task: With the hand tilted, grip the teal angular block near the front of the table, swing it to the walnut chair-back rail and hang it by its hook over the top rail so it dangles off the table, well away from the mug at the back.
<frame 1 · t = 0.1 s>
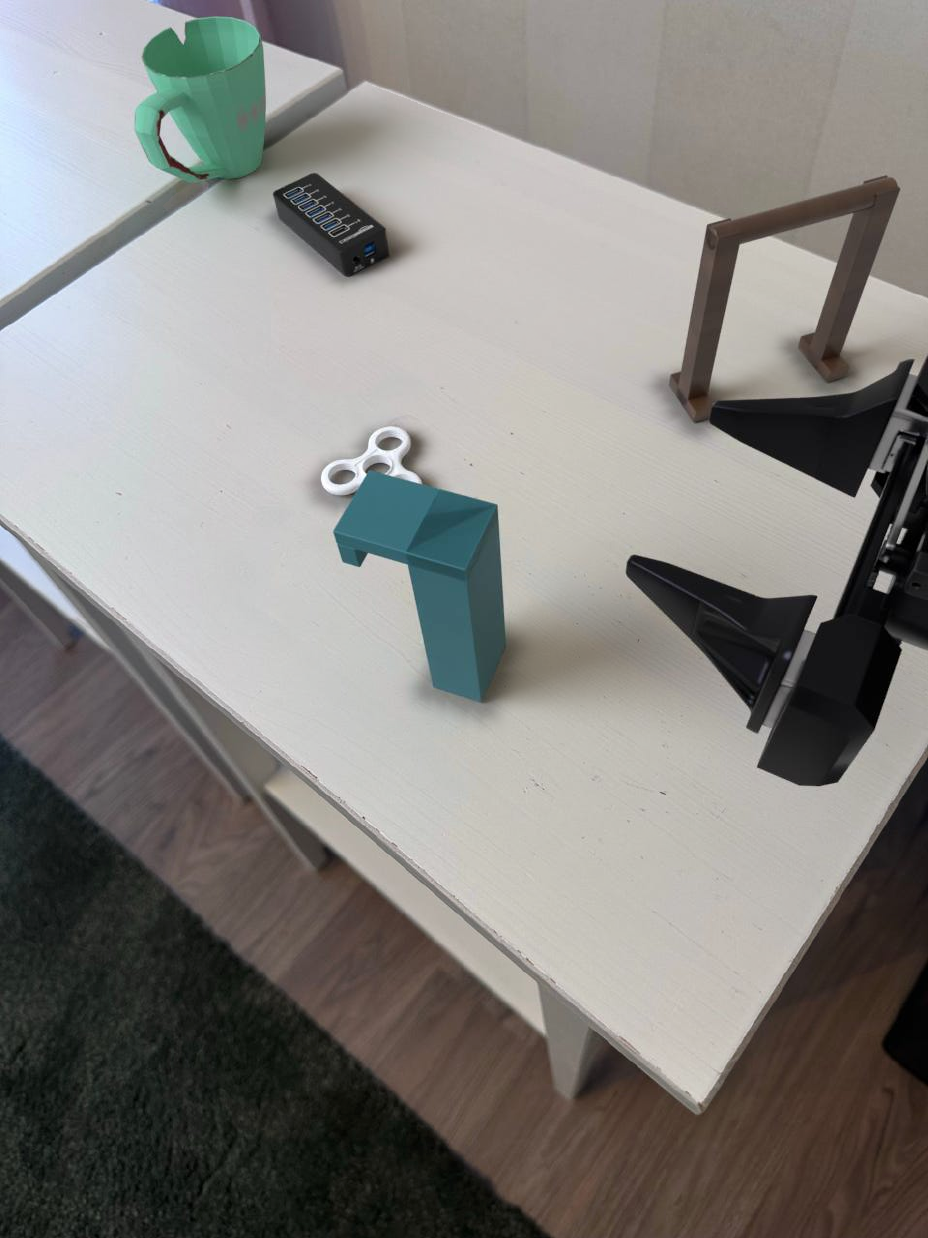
hand: (671, 483, 38), 16 cm above the table, tool horizontal, fingers open, 9 cm apart
multiport hub: (333, 237, 75), on the table
rack: (756, 381, 63), on the table
teal angular block: (470, 666, 52), on the table
fidget spinner: (384, 480, 60), on the table
mug: (222, 180, 81), on the table
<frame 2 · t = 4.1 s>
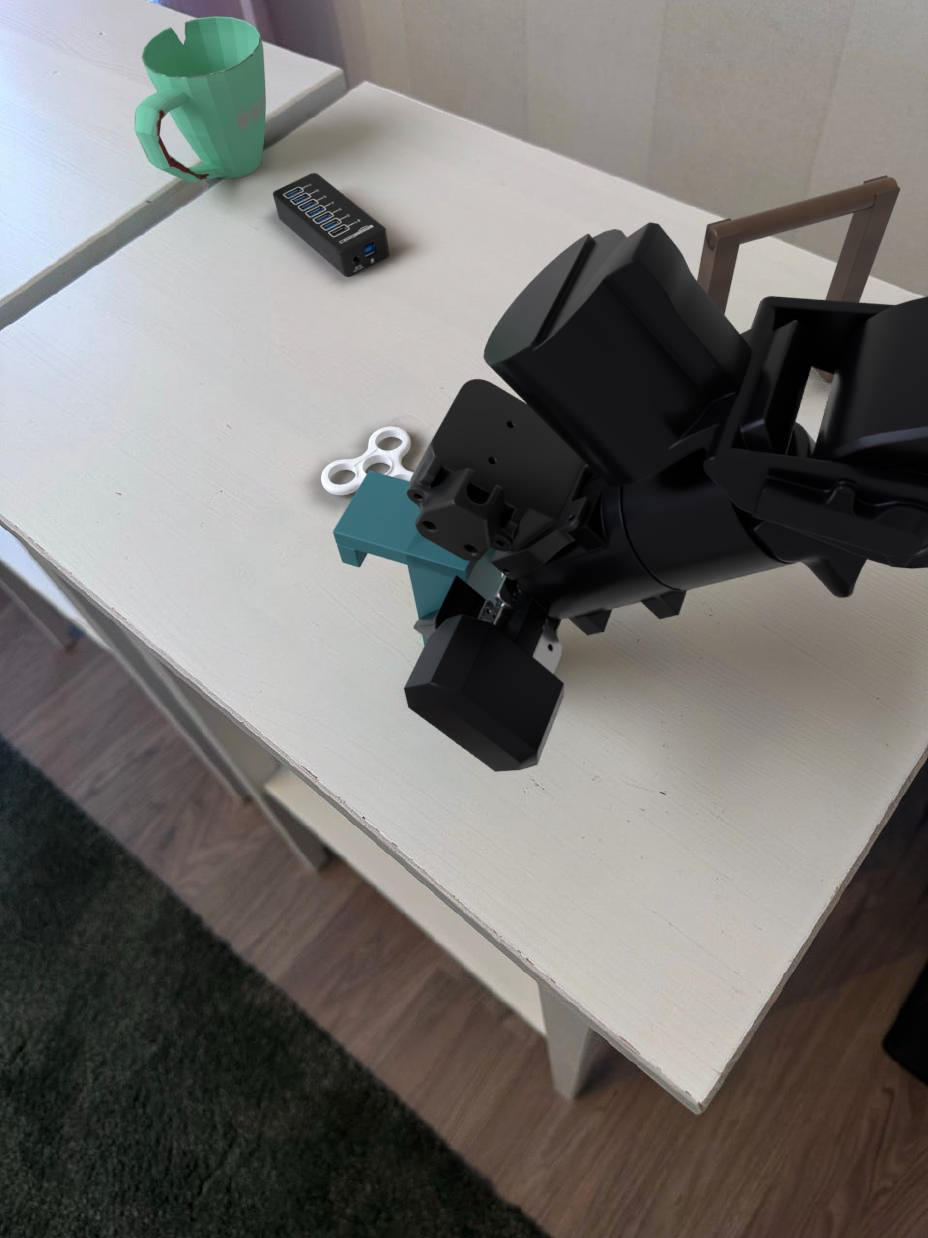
hand: (437, 596, 47), 7 cm above the table, tool tilted 45°, fingers closed on teal angular block, 4 cm apart
teal angular block: (469, 666, 52), on the table, touching gripper
everything else where it was.
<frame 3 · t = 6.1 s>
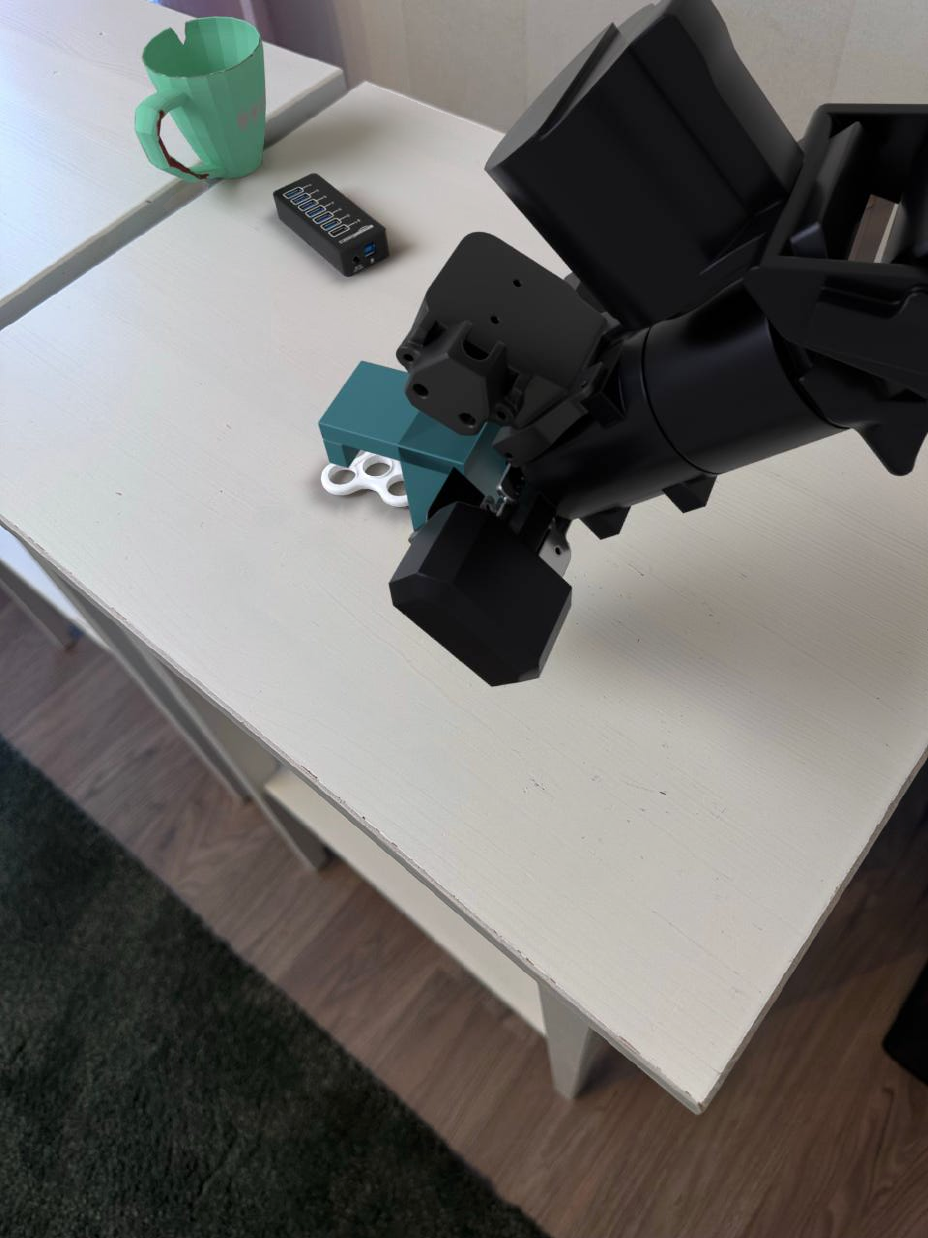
hand: (436, 510, 43), 12 cm above the table, tool tilted 45°, fingers closed on teal angular block, 4 cm apart
teal angular block: (471, 596, 48), point 6 cm above the table, touching gripper
everything else where it was.
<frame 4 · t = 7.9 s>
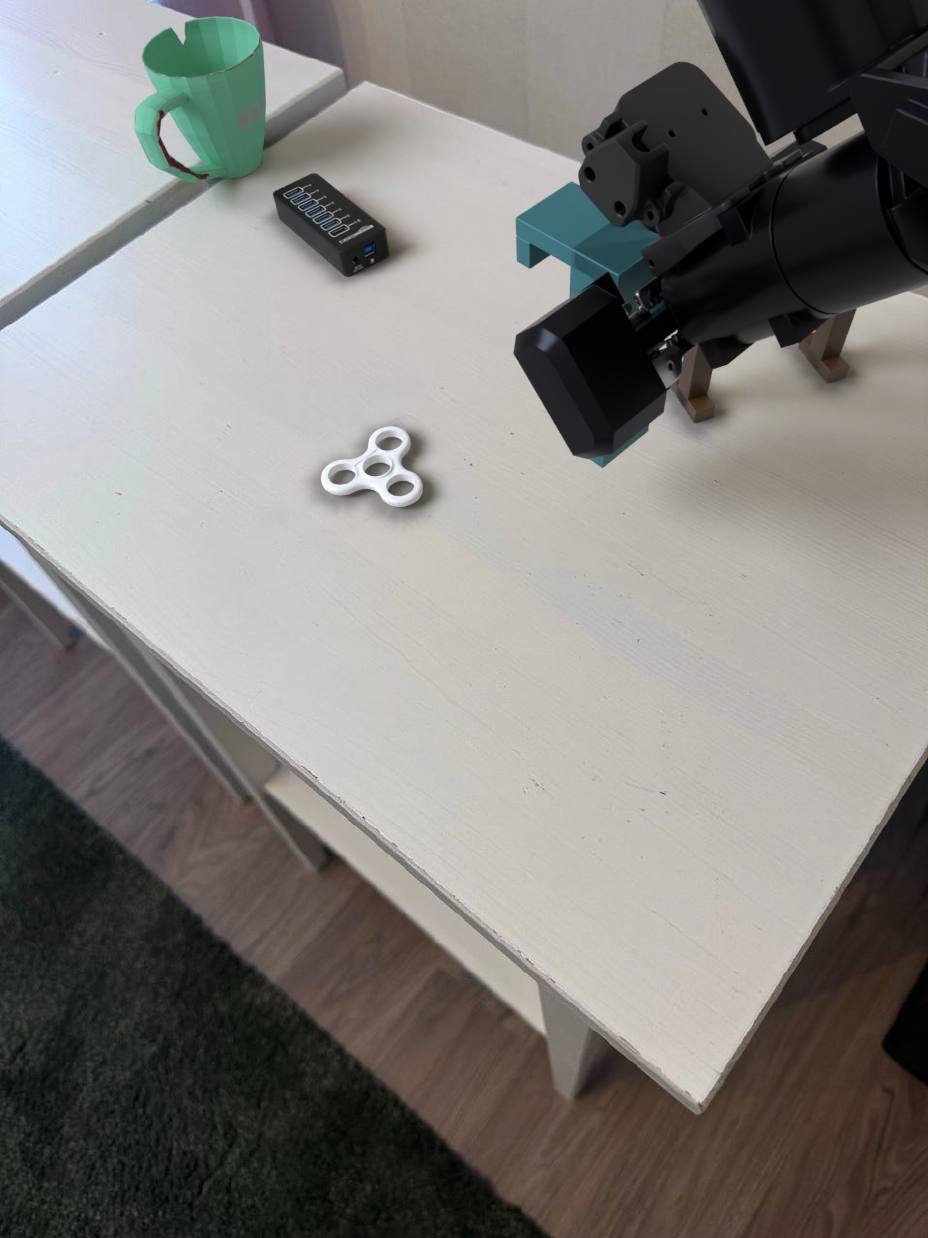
hand: (595, 337, 48), 12 cm above the table, tool tilted 45°, fingers closed on teal angular block, 4 cm apart
teal angular block: (606, 436, 53), point 6 cm above the table, touching gripper
everything else where it was.
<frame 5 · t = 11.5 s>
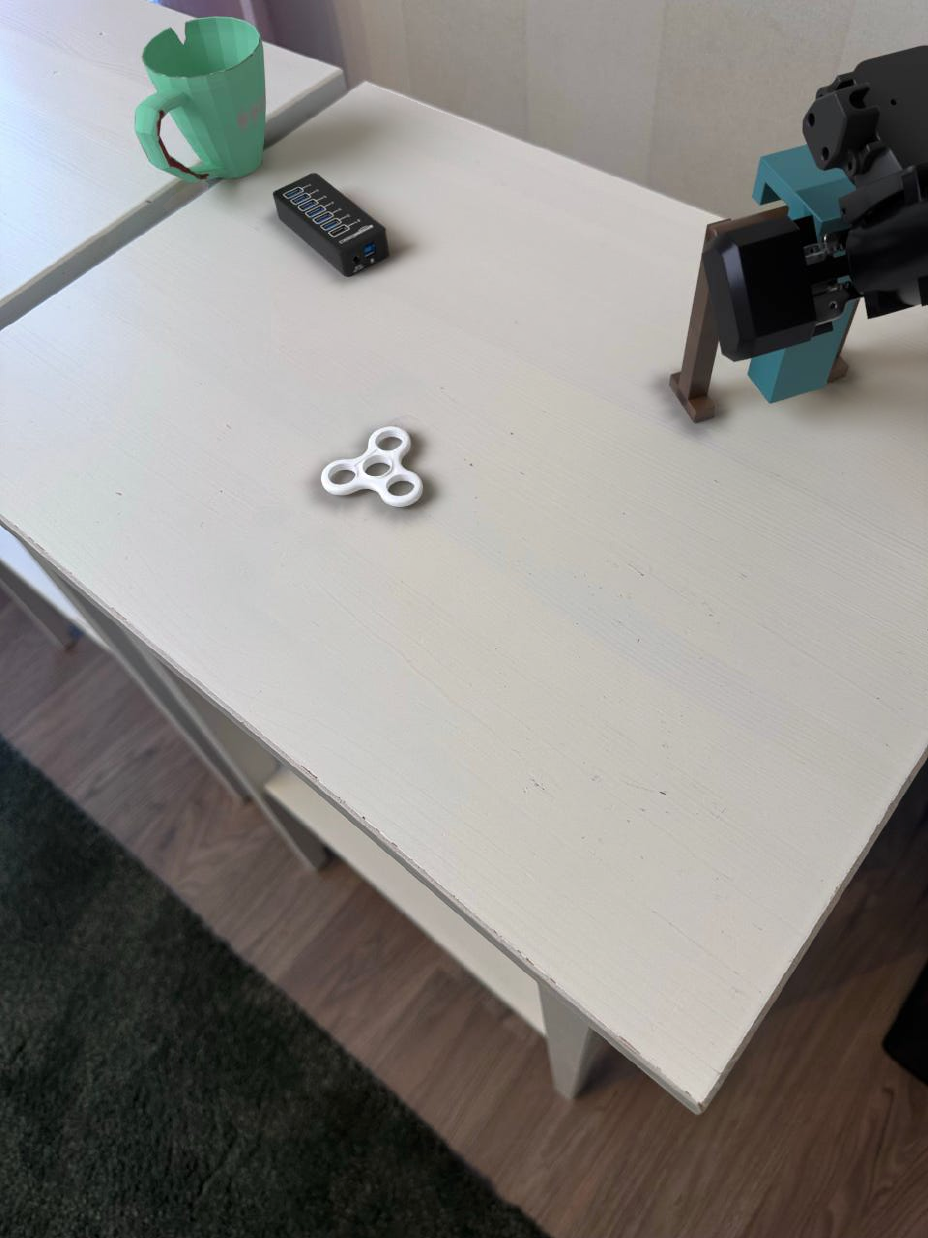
hand: (799, 283, 54), 9 cm above the table, tool tilted 45°, fingers closed on teal angular block, 4 cm apart
teal angular block: (785, 380, 59), point 3 cm above the table, touching gripper
everything else where it was.
when the fingers open (8 cm above the table, at t = 12.2 s): teal angular block moves 8 cm and tips over, resting on rack.
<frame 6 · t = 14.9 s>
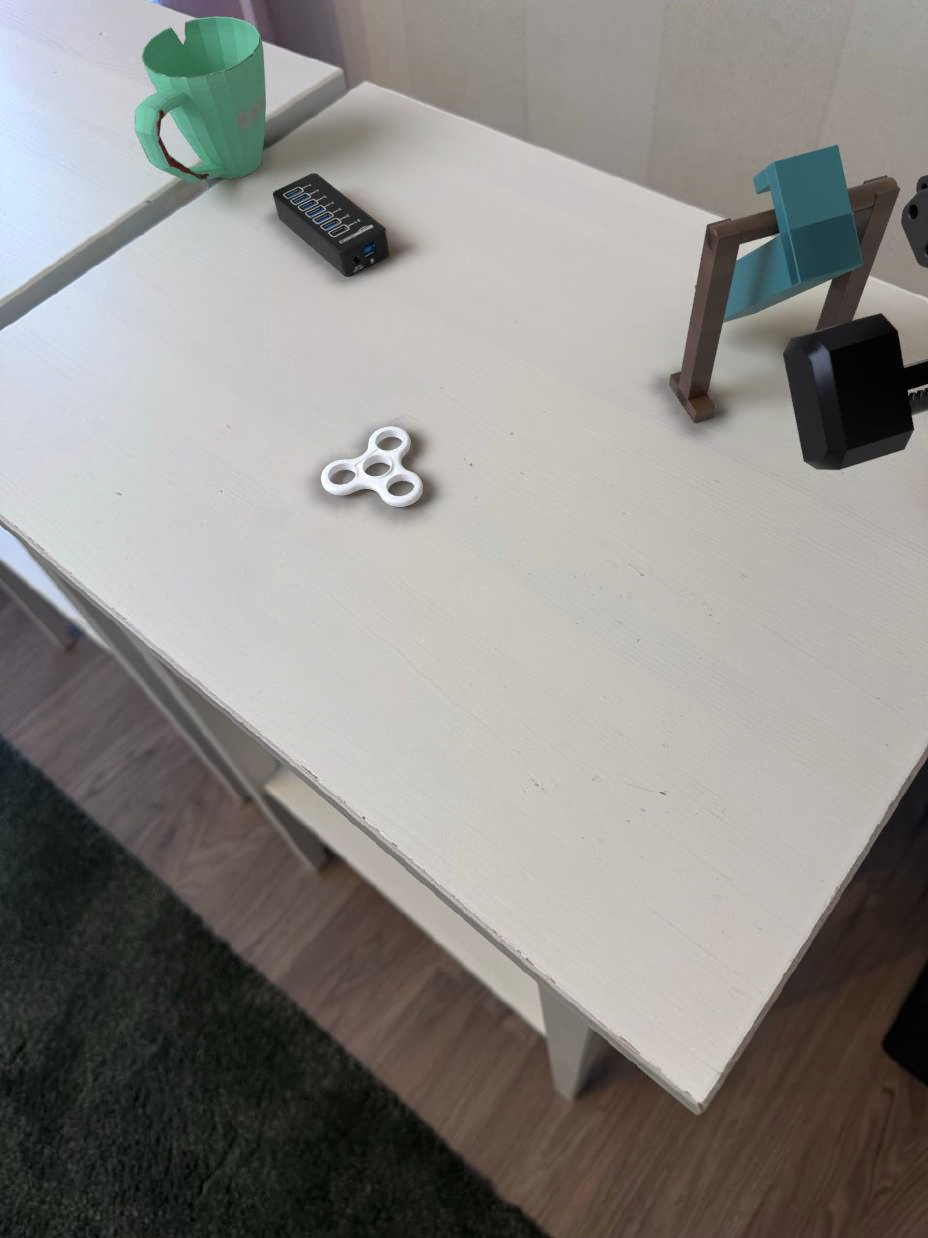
hand: (875, 368, 50), 9 cm above the table, tool tilted 45°, fingers open, 9 cm apart
teal angular block: (725, 299, 64), point 3 cm above the table, tilted 41°, touching rack
everything else where it was.
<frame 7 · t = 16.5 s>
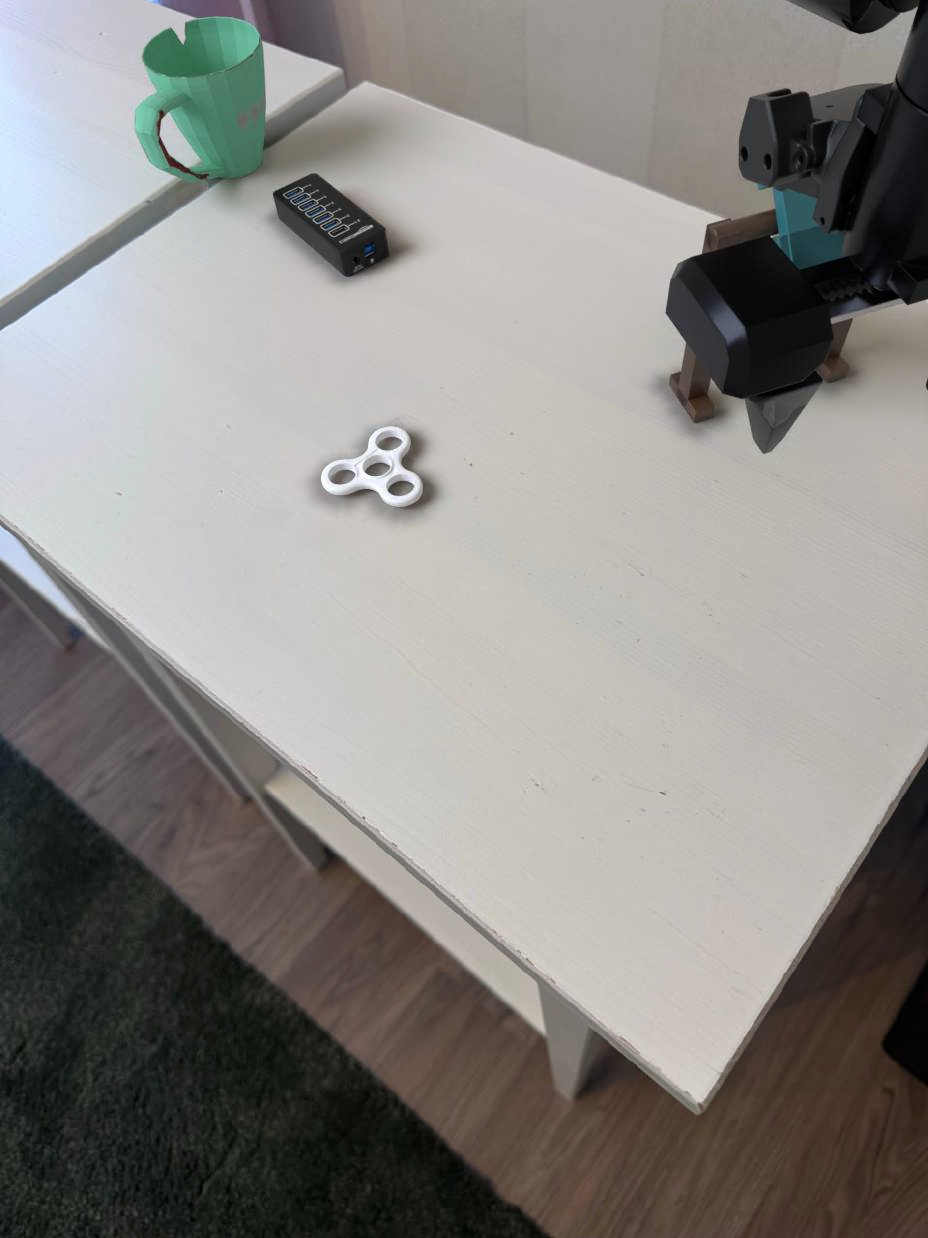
hand: (848, 419, 43), 13 cm above the table, tool pointing down, fingers open, 9 cm apart
teal angular block: (718, 275, 63), point 4 cm above the table, tilted 50°, touching rack
everything else where it was.
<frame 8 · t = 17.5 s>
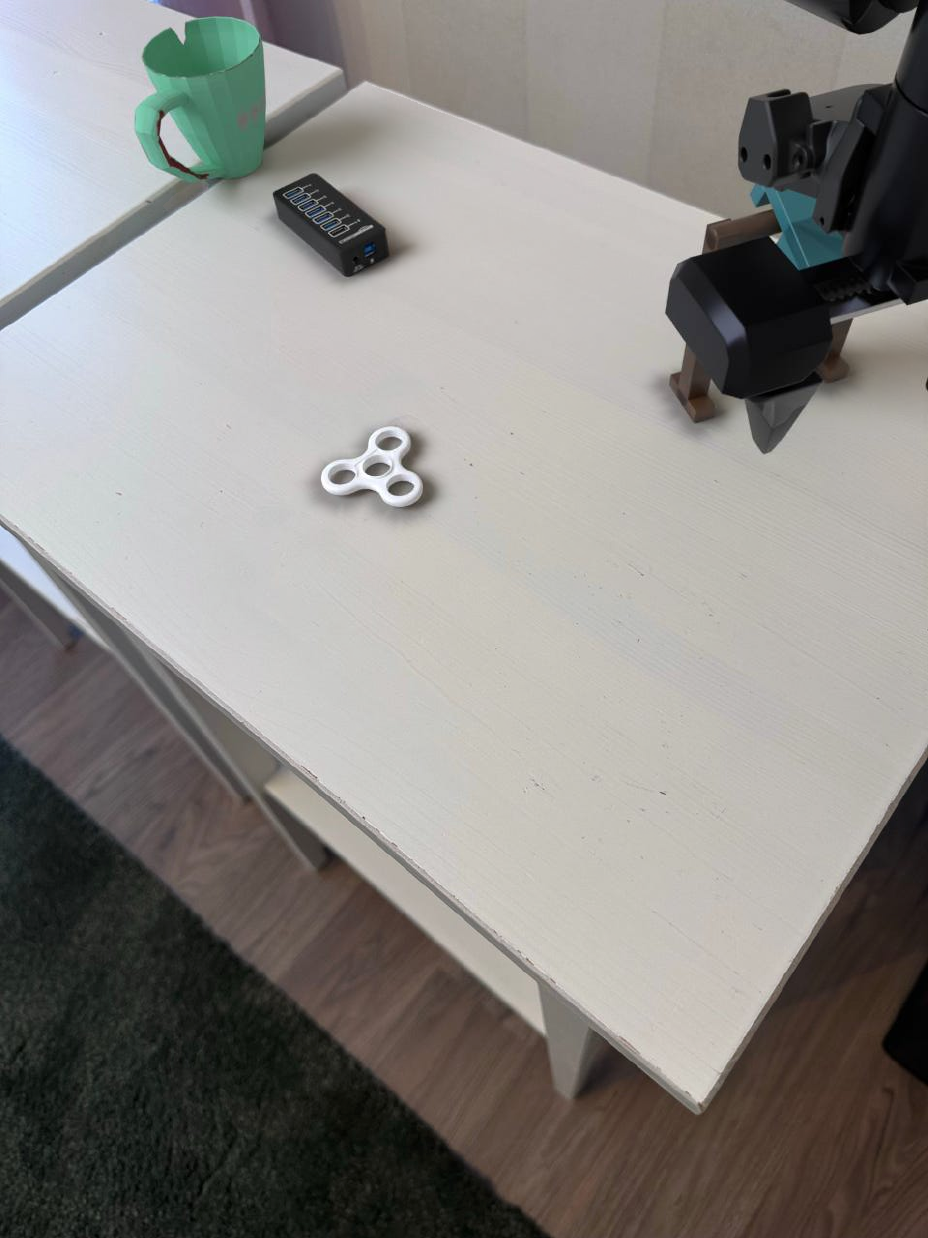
hand: (848, 419, 43), 13 cm above the table, tool pointing down, fingers open, 9 cm apart
teal angular block: (746, 348, 63), point 1 cm above the table, tilted 23°, touching rack
everything else where it was.
at the end: teal angular block touching rack; teal angular block point 3.3 cm above the table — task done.
